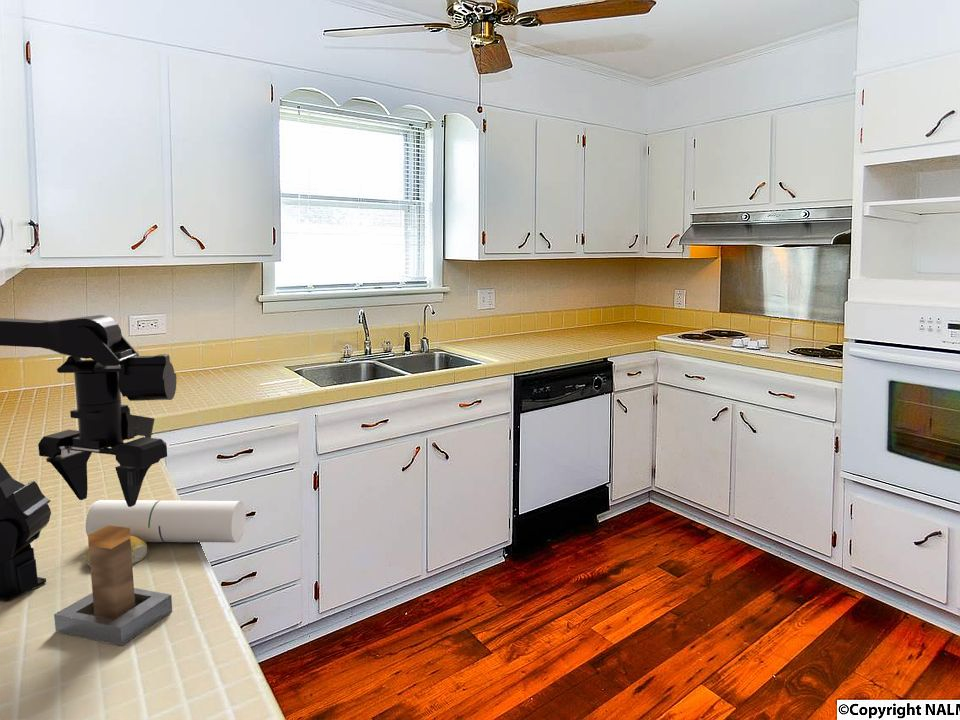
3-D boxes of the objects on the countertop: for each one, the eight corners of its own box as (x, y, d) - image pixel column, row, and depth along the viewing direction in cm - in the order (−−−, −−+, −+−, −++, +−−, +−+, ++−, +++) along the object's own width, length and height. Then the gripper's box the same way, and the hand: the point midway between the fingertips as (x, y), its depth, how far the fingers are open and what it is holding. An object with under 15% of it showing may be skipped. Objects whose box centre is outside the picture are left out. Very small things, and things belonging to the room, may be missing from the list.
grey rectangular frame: (55, 631, 89) (54, 614, 89) (110, 599, 98) (109, 583, 97) (121, 645, 86) (120, 627, 86) (172, 611, 94) (171, 594, 94)
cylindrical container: (88, 549, 115) (233, 550, 115) (83, 511, 113) (229, 512, 113) (110, 529, 122) (247, 530, 122) (105, 493, 120) (244, 494, 120)
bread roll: (113, 546, 116) (111, 525, 115) (156, 553, 114) (154, 531, 113) (72, 567, 108) (70, 544, 107) (117, 574, 106) (116, 550, 105)
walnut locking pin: (95, 626, 90) (87, 535, 88) (114, 613, 94) (107, 525, 92) (117, 629, 90) (110, 538, 88) (136, 616, 93) (129, 527, 91)
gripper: (190, 395, 103) (195, 491, 105) (94, 387, 108) (101, 479, 111) (134, 410, 93) (141, 517, 95) (31, 401, 98) (40, 502, 100)
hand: (107, 502), depth 100 cm, fingers open, 9 cm apart
